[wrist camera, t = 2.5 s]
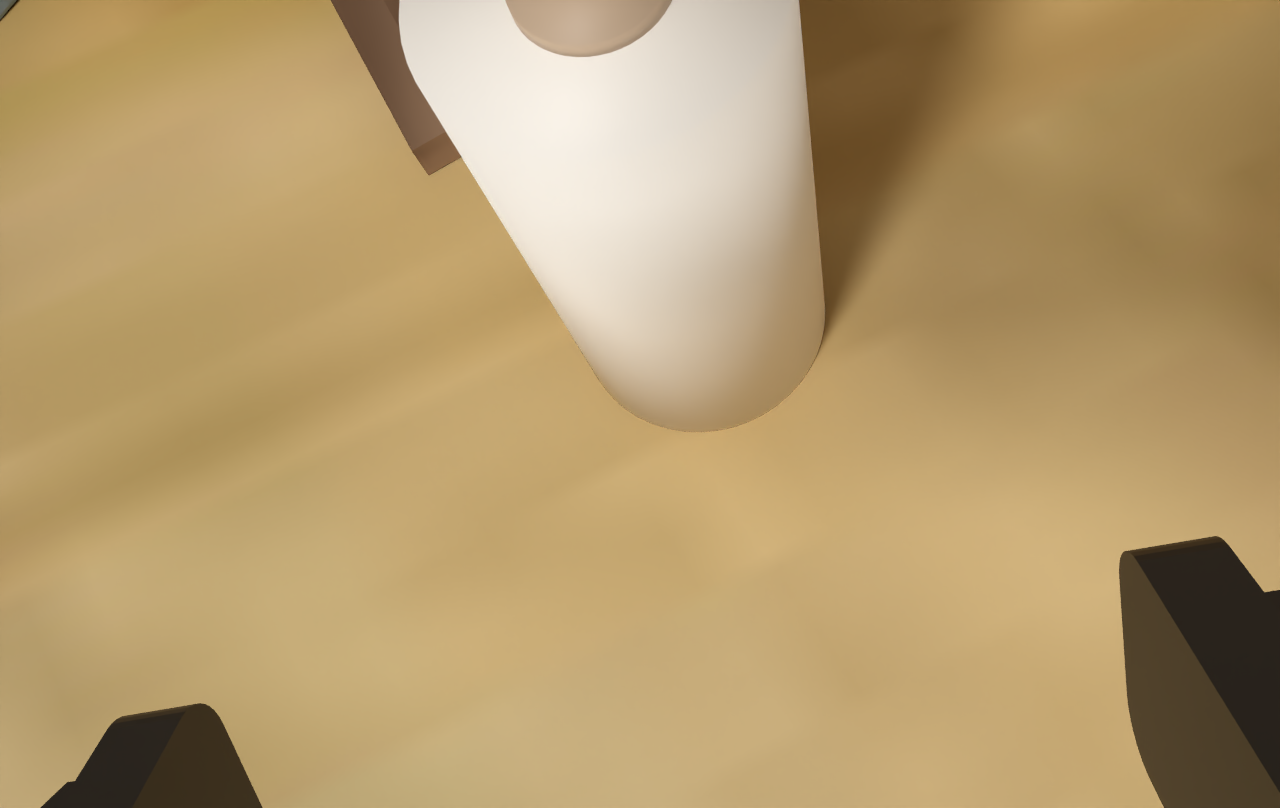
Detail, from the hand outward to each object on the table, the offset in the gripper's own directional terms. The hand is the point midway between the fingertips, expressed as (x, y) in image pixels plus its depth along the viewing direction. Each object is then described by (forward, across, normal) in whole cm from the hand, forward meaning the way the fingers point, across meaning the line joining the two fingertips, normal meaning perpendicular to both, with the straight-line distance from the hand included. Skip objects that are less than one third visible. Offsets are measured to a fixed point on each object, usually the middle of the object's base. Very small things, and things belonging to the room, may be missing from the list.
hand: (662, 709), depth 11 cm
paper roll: (+18, 0, +3) cm, 18 cm away
